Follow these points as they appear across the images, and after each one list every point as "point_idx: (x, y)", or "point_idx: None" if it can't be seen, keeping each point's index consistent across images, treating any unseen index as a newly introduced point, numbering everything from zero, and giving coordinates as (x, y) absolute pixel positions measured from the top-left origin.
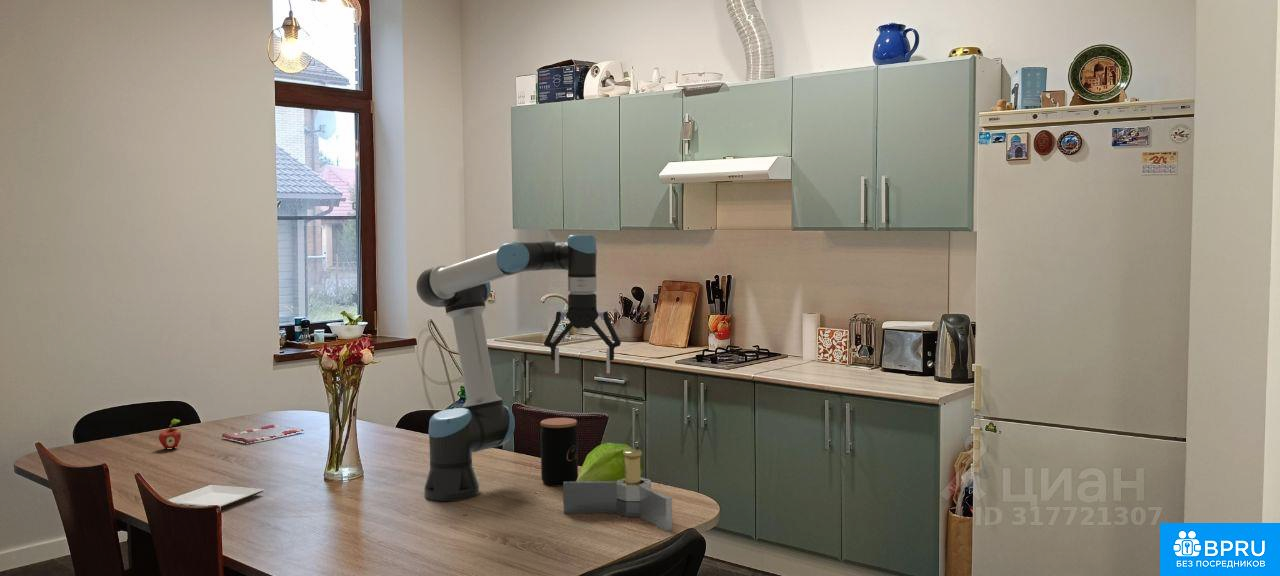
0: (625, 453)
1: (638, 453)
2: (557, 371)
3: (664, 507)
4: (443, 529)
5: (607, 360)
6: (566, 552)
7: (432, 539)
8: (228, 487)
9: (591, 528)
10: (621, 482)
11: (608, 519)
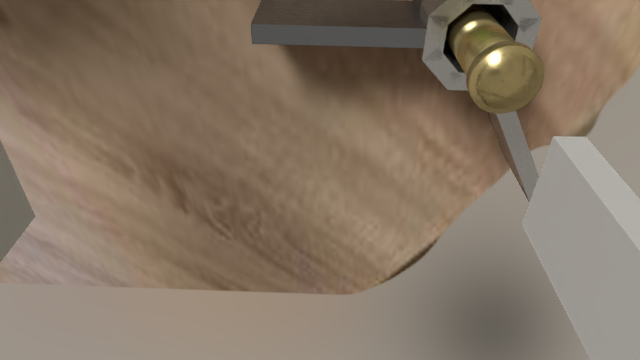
0: (475, 103)
1: (523, 105)
2: (20, 228)
3: (519, 182)
4: (17, 128)
5: (591, 338)
6: (305, 250)
7: (33, 184)
8: None
9: (344, 135)
10: (439, 46)
11: (384, 72)
